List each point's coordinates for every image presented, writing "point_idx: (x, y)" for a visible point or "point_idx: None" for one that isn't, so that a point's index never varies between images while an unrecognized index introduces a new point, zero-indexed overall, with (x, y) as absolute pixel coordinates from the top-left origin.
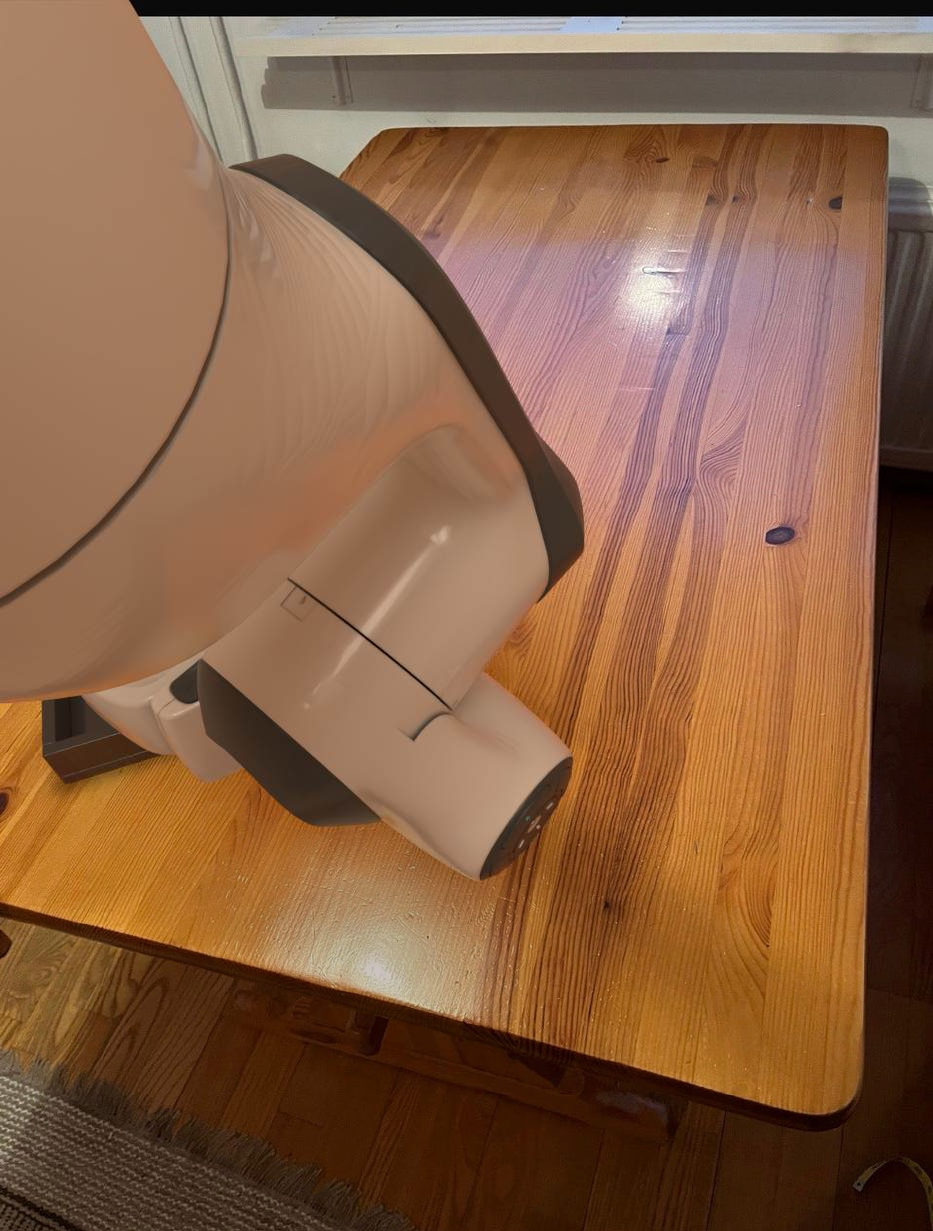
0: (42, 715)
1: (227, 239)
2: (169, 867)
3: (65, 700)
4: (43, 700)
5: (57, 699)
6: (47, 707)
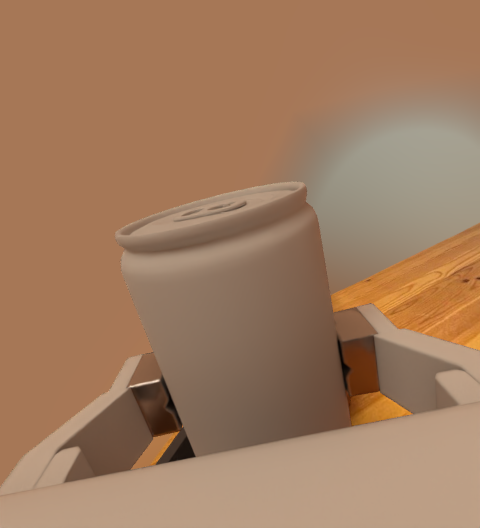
0: (156, 464)
1: None
2: None
3: (190, 456)
4: (167, 449)
5: (178, 454)
6: (164, 458)
